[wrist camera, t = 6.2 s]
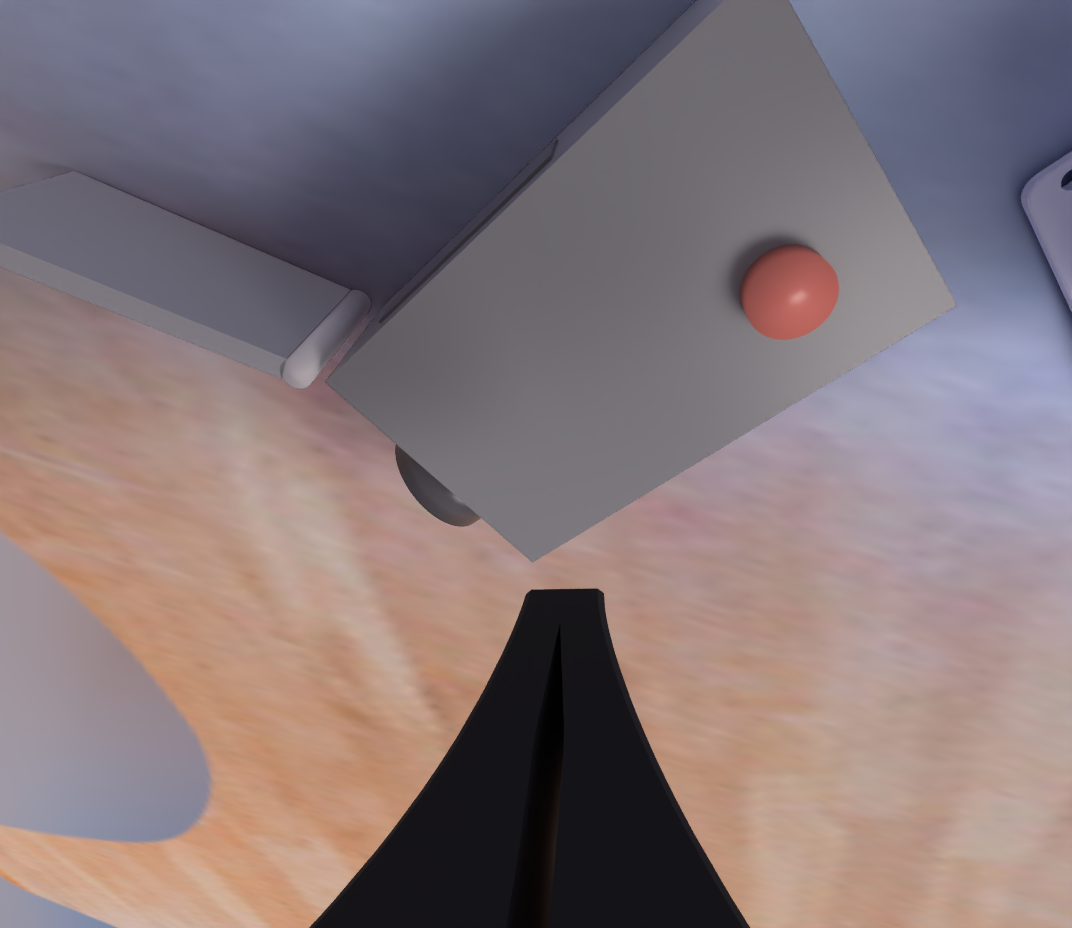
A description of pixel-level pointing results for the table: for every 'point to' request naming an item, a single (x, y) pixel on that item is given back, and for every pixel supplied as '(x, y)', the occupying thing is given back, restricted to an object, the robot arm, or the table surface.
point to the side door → (176, 276)
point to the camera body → (646, 287)
